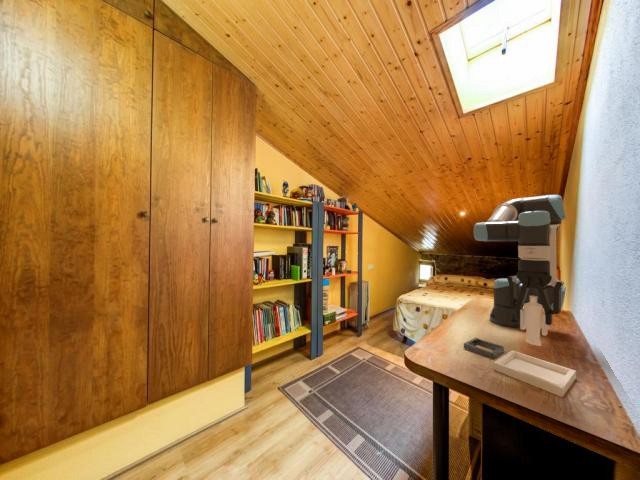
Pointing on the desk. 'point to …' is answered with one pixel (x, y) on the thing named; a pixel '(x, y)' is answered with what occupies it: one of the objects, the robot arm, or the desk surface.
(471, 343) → the ring collar
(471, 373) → the desk surface
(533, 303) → the perfume bottle
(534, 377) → the tray
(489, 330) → the desk surface
